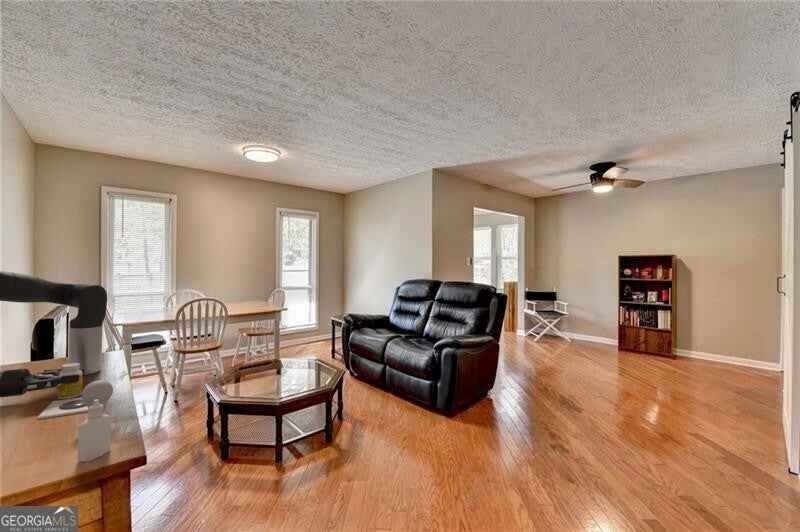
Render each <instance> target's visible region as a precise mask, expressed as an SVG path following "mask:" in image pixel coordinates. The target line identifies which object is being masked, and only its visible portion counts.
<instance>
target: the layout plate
mask: <svg viewBox="0 0 800 532" xmlns="http://www.w3.org/2000/svg"><path fill="white" fill-rule="evenodd" d="M88 411H89V410H88V407H87V405H86V404H85V403H84V401H83V400H82V396H81V397H74V398H69V399H59V400H53V401H52V402H51V403H50V404H49V405H48V406H47V407H46V408H45V409H44V410H43V411H42V412H41V413H40V414H39V415H38V416H37V420H42V419H48V418H55V417H62V416H63V417H64V416H68V415H69V416H70V415H75V414H82V413H88Z"/></svg>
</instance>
